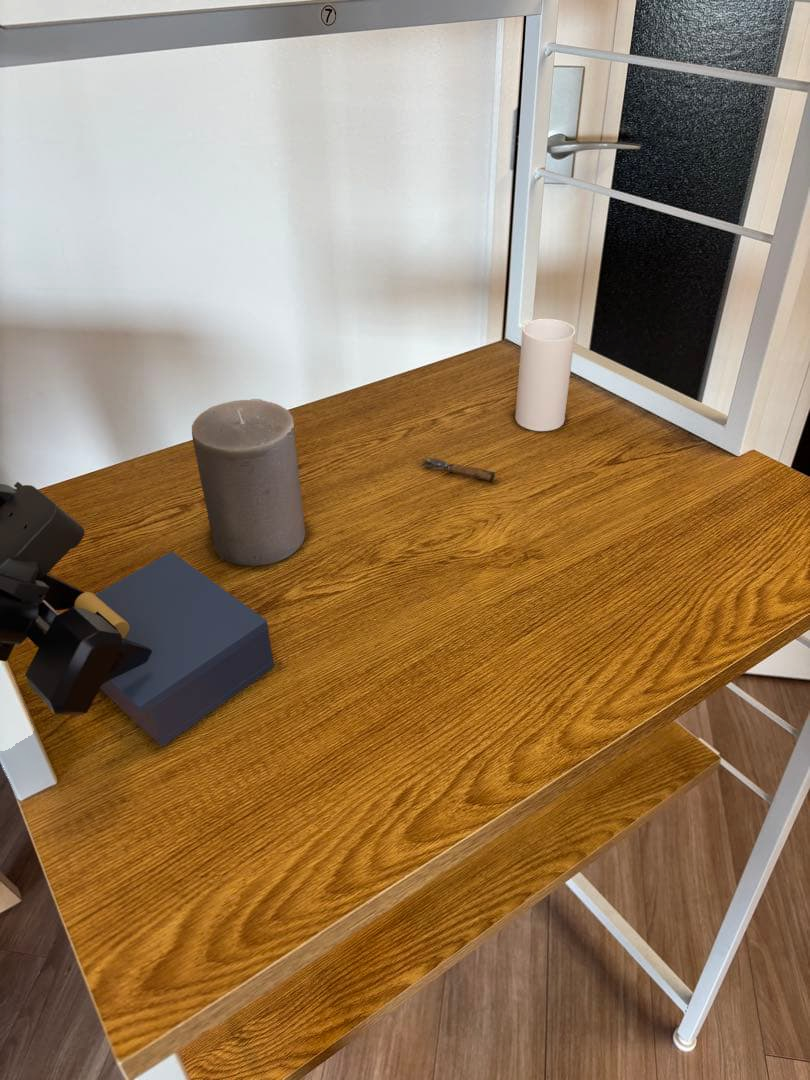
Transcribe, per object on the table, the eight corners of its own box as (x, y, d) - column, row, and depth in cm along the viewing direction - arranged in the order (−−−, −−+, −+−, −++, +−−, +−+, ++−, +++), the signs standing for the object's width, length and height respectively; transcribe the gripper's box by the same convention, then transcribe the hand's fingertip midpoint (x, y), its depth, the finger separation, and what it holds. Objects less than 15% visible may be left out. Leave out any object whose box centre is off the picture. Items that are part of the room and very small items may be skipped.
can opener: (495, 478, 94) (495, 470, 93) (486, 489, 93) (487, 480, 92) (425, 458, 98) (425, 450, 97) (416, 468, 96) (415, 459, 95)
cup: (505, 420, 105) (512, 331, 97) (532, 401, 108) (540, 314, 101) (547, 436, 101) (557, 345, 94) (573, 416, 105) (585, 327, 98)
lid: (140, 713, 62) (125, 666, 59) (49, 628, 69) (30, 581, 66) (268, 627, 69) (260, 580, 66) (172, 557, 77) (161, 512, 73)
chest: (162, 747, 66) (150, 708, 63) (72, 662, 73) (58, 623, 70) (274, 666, 72) (268, 627, 69) (182, 596, 80) (173, 558, 77)
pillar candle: (204, 567, 83) (176, 438, 74) (222, 509, 90) (200, 386, 81) (301, 567, 83) (285, 438, 73) (311, 509, 90) (299, 385, 81)
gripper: (53, 544, 47) (235, 591, 60) (-82, 430, 57) (100, 491, 70) (-35, 714, 48) (165, 724, 61) (-153, 571, 58) (41, 606, 71)
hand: (116, 626), depth 66 cm, fingers open, 9 cm apart
